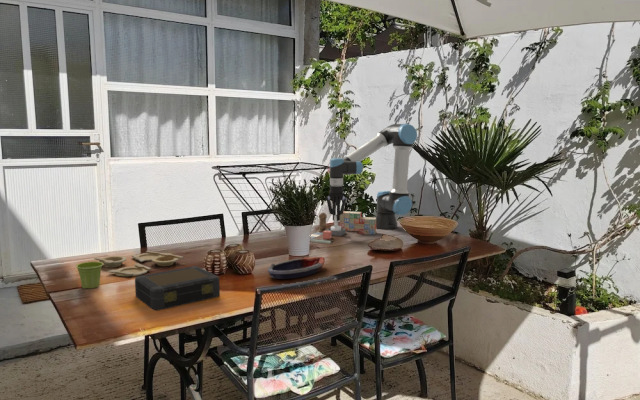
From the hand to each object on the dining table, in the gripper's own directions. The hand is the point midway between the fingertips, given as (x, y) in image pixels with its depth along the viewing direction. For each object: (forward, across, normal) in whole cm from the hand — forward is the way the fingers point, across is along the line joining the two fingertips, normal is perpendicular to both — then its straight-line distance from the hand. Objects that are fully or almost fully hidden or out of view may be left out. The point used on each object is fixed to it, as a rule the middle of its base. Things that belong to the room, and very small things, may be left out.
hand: (336, 226), depth 285 cm
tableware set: (+6, -59, -93) cm, 110 cm away
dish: (+6, +11, -75) cm, 76 cm away
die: (+5, -1, -12) cm, 13 cm away
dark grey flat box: (+6, -16, -120) cm, 122 cm away
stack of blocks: (+7, +8, +16) cm, 19 cm away
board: (+6, -5, -6) cm, 10 cm away
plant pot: (+6, -54, -125) cm, 136 cm away
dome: (+4, 0, 0) cm, 4 cm away
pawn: (+5, -10, +3) cm, 11 cm away
